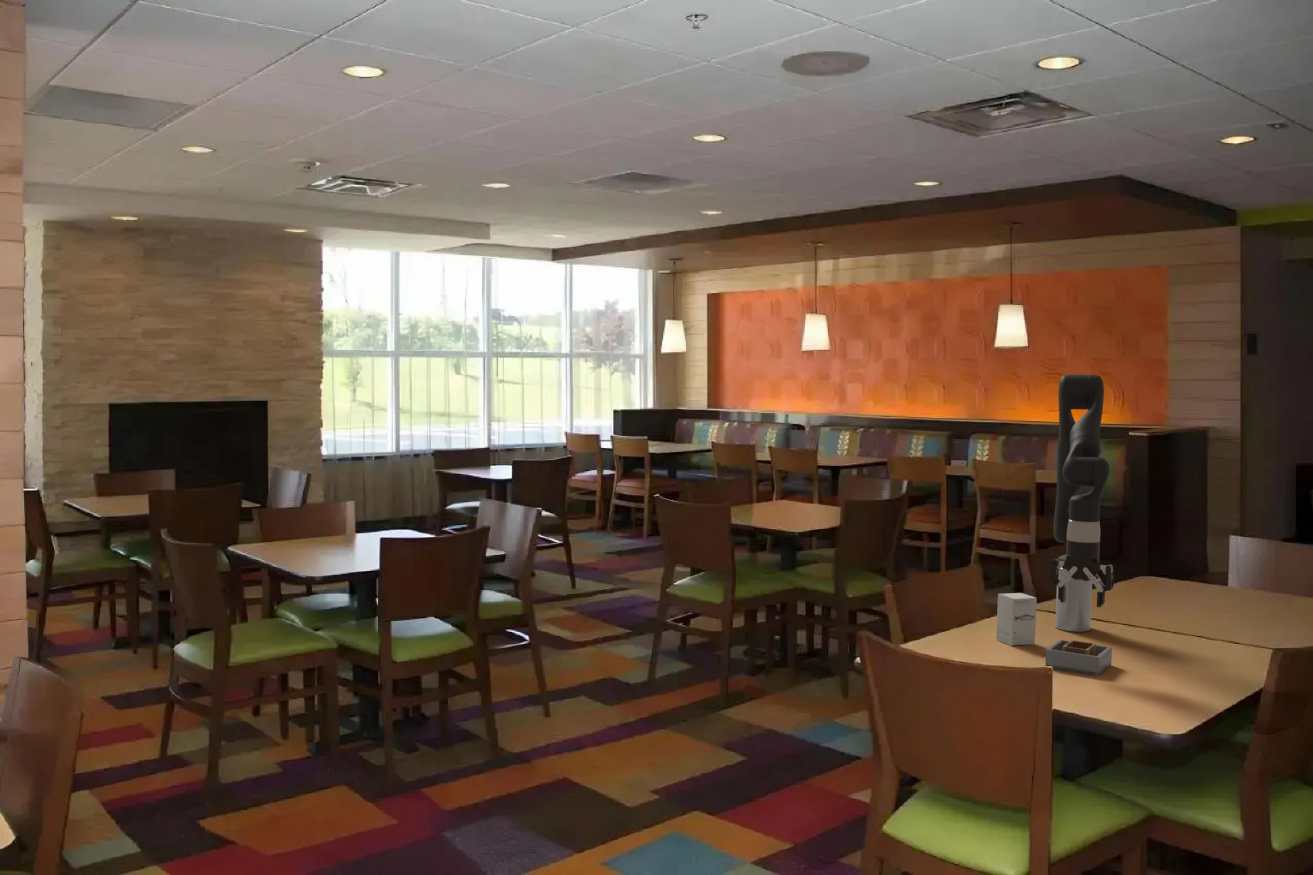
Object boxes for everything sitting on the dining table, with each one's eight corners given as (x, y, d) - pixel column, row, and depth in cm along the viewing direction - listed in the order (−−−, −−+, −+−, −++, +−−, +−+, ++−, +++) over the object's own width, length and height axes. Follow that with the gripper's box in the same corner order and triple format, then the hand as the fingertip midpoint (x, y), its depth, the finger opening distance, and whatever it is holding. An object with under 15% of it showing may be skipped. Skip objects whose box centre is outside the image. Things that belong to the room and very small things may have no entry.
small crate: (1070, 657, 277) (1071, 640, 277) (1095, 661, 274) (1096, 643, 274) (1061, 664, 271) (1062, 646, 270) (1087, 668, 267) (1087, 650, 267)
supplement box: (1011, 646, 292) (1012, 598, 291) (995, 639, 299) (996, 593, 298) (1035, 644, 294) (1037, 597, 293) (1019, 638, 301) (1021, 592, 300)
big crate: (1059, 657, 281) (1060, 639, 281) (1111, 665, 274) (1111, 647, 274) (1045, 667, 271) (1046, 649, 271) (1098, 676, 264) (1099, 657, 263)
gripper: (1117, 539, 269) (1115, 605, 271) (1057, 533, 277) (1055, 597, 279) (1110, 543, 263) (1107, 611, 264) (1049, 537, 271) (1046, 603, 273)
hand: (1080, 604), depth 272 cm, fingers open, 8 cm apart
